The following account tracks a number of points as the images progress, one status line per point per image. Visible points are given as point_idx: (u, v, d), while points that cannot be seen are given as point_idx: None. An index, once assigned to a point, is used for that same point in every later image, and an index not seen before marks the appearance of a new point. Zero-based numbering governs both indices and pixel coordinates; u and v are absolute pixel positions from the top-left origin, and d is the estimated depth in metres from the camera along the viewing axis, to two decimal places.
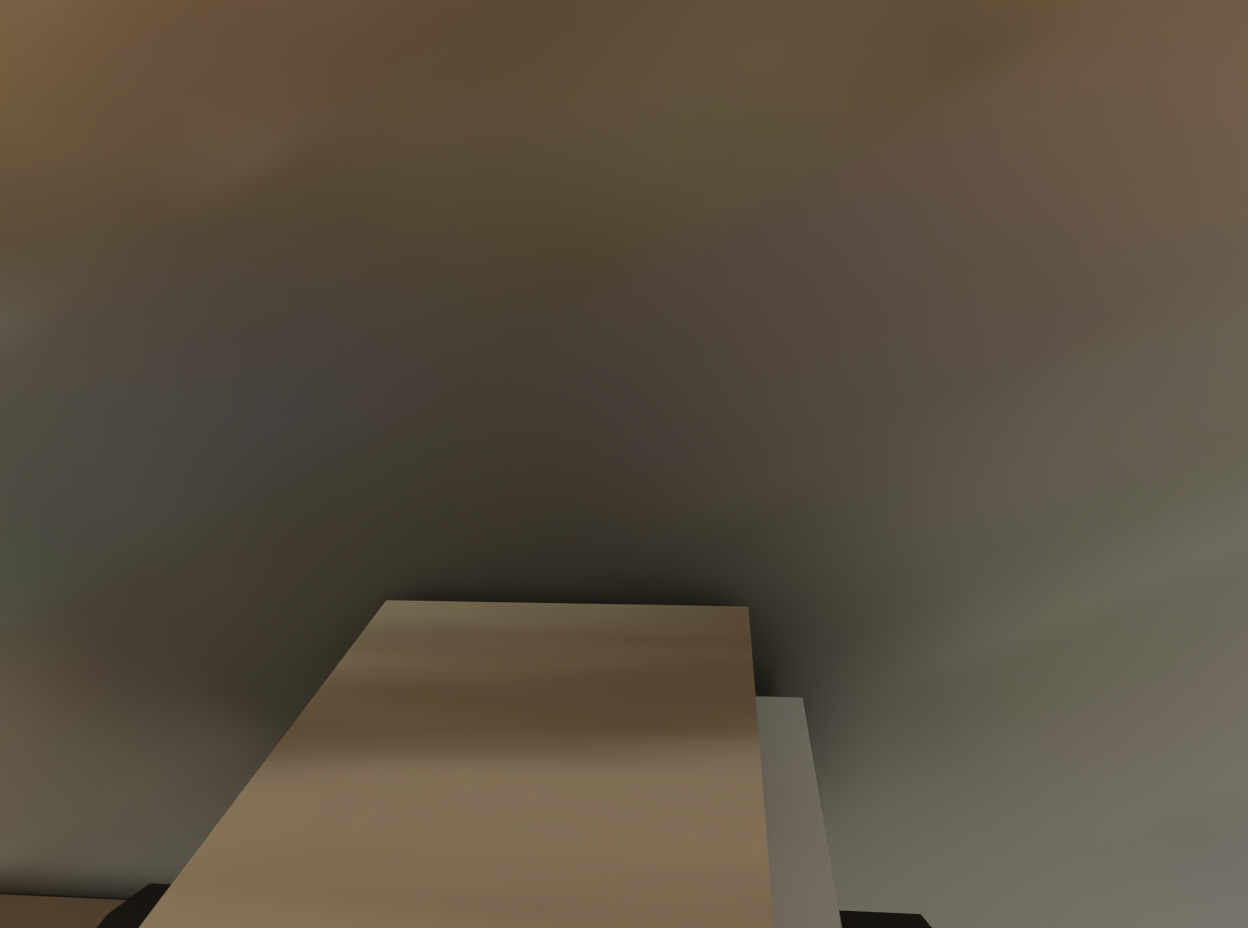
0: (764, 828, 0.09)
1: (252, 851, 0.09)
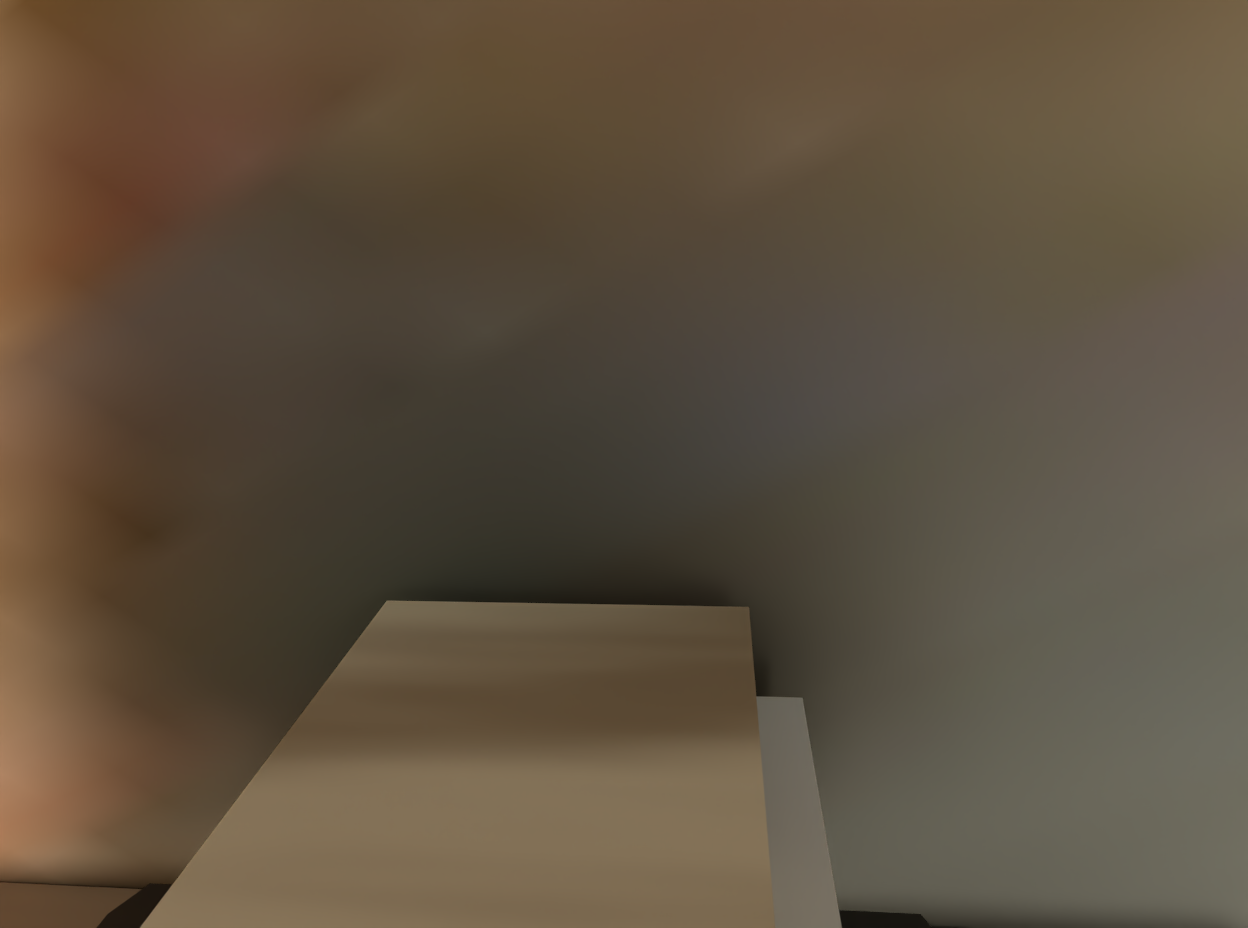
0: (765, 829, 0.09)
1: (253, 851, 0.09)
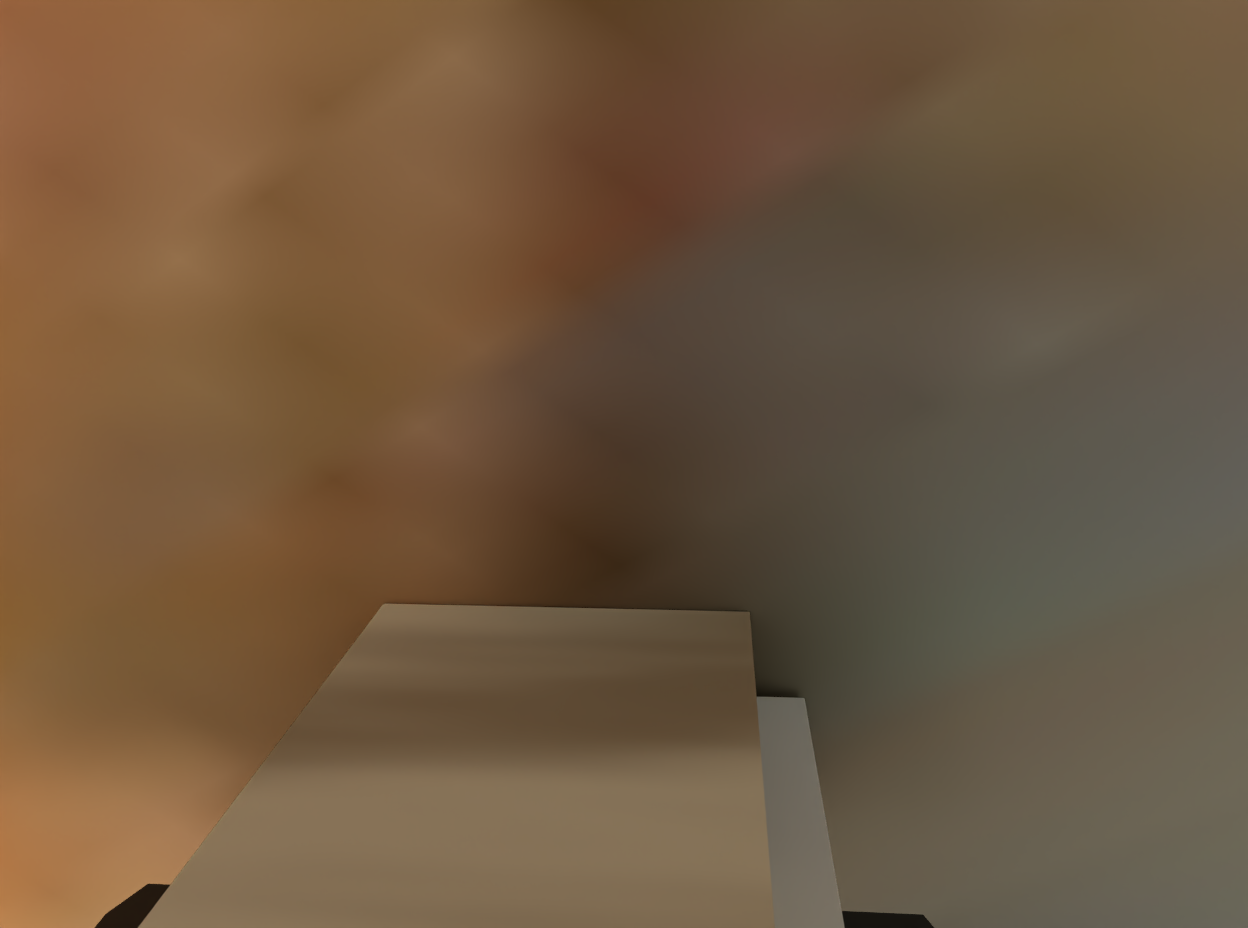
0: (766, 840, 0.09)
1: (244, 863, 0.09)
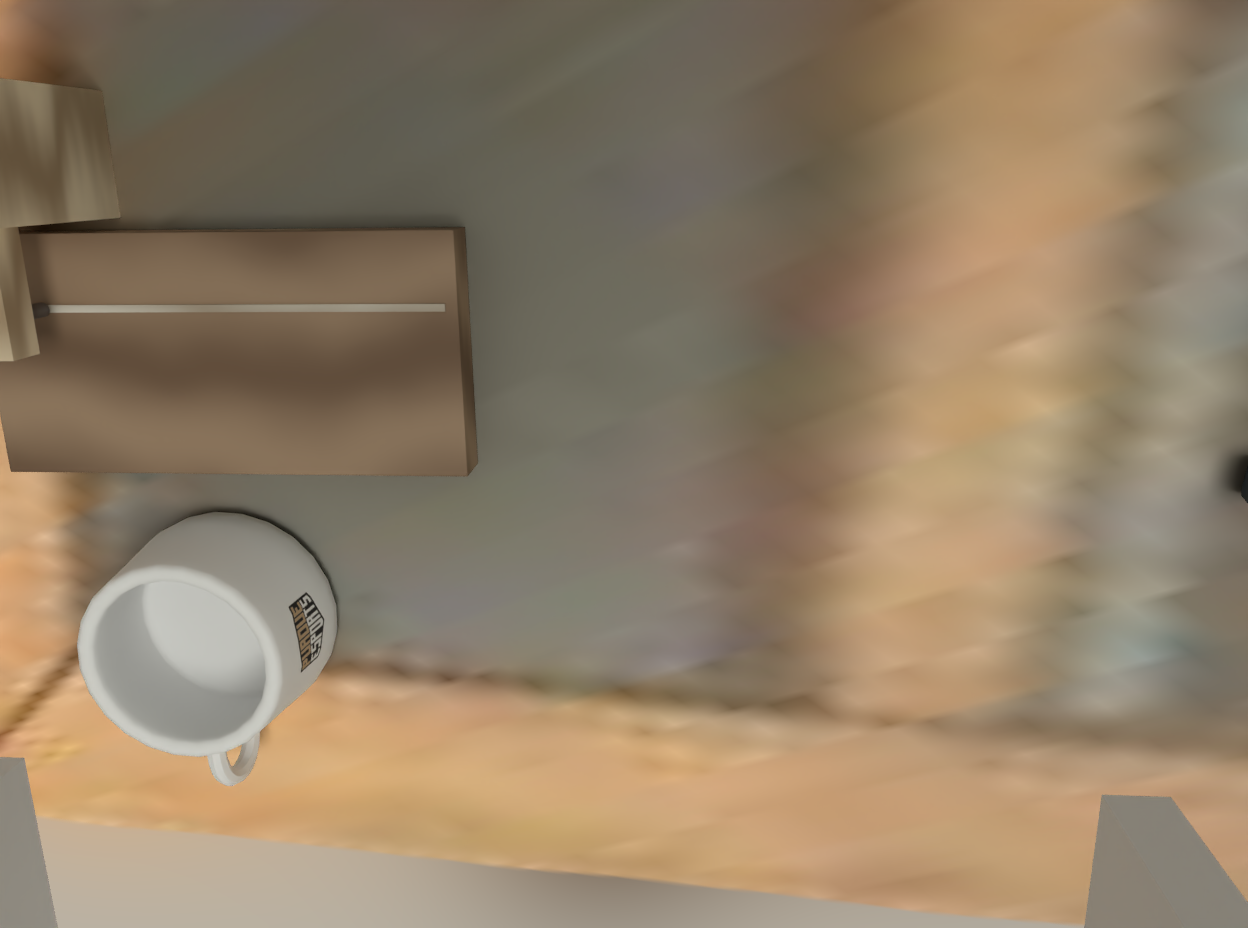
0: None
1: None
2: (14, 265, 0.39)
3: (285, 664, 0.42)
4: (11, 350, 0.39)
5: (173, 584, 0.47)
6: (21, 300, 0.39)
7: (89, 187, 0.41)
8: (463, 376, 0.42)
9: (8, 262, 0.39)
